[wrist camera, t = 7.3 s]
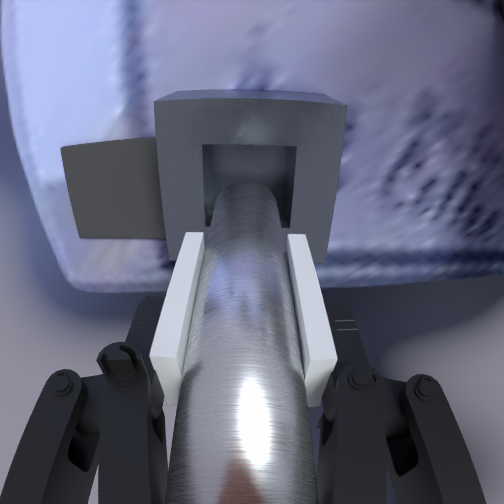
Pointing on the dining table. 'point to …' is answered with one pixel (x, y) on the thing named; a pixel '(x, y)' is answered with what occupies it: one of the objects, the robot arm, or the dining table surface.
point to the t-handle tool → (243, 368)
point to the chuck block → (249, 158)
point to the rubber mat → (115, 188)
